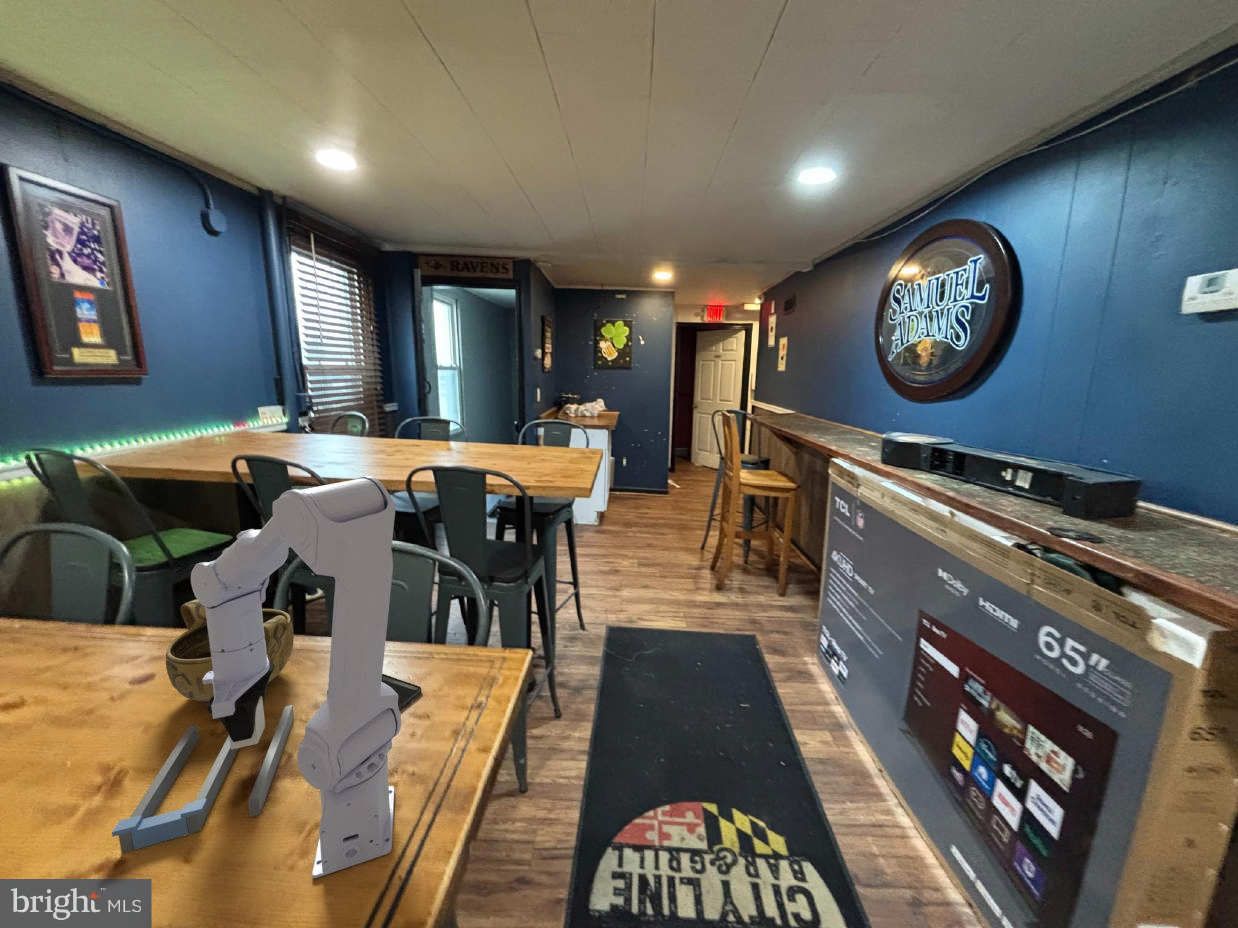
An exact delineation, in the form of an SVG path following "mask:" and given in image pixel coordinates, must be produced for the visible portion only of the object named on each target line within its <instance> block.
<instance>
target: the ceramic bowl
mask: <svg viewBox="0 0 1238 928" xmlns="http://www.w3.org/2000/svg"><path fill="white" fill-rule="evenodd" d="M180 613H181V617H182V619H183V621H184V623H185V626H186V627H187V630H186V631H185V632H183V633H182V634H180V635H178V636H177V637H176V638H174V639H173V640H172V641H171V642H170V644H169V645H168V646H167V648H166V654H165V668H166V673H167V676H168V679H169V682H170V684H171V686H173V688H174V689H175V690H176V691H177V692H178V693H179V694H180V695H181V696H183V697H184V698H186V699H190V700H193V701H198V702H206V703H208V702H209V700H210V699H211V697H213V696H214V692H213V684H212V683H209V684H203V678H204V676H205V675H206V673H208V672H210V671H213V667H212V659H211V651H210V643H209V635H208V627H207V619H206V611H205V606H203V605H202V604H201V603H200V602H199V601H198V600H197V598H196V599H193V600H190V601H188V602H184V604H182V605H181V606H180ZM262 615H263V625H264V635H265V641H266V650H267V652H266V654H267V657H268V660H269V663H274V665H275V667H274V669H273V671H272V673H271V676H270V678H269V681H268V684H269V683H270V682H272V681H273V680H274V679H275V678H276V677H277V676H278V675H279V674H280V673H281V672H282V671H283V670H284V668H285V667H286V665H287V664H288V662H289V660H290V658H291V655H292V653H293V647H294V639H295V637H294V636H295V635H294V628H293V622H292V620H291V616H290V614H289V613H288V612H285V611H283V610H279V609H273V608H262Z"/></svg>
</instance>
